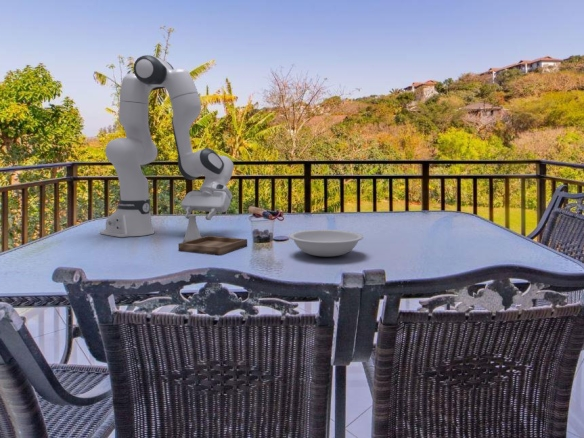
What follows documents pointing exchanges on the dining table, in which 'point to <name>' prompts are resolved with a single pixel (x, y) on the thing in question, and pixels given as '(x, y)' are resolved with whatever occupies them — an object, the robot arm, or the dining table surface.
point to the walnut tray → (212, 245)
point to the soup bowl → (326, 241)
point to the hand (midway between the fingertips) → (197, 218)
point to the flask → (192, 229)
